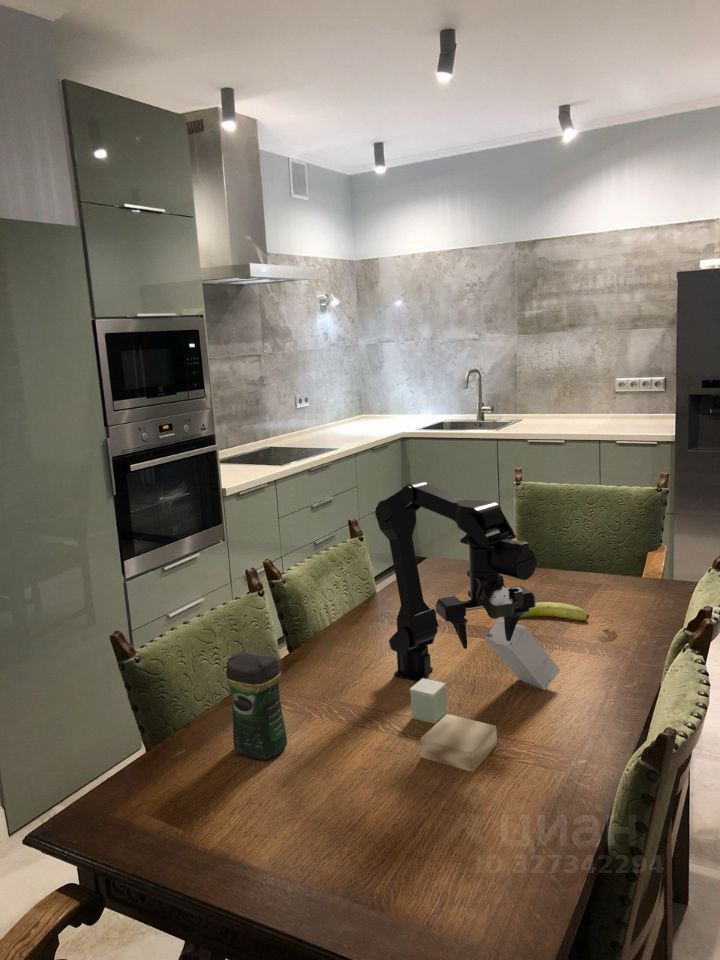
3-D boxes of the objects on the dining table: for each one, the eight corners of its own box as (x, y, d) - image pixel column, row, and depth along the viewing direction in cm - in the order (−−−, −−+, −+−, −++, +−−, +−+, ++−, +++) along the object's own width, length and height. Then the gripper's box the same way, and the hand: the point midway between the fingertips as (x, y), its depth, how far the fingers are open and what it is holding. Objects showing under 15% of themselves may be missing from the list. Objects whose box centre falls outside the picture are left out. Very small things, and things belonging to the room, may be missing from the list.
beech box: (421, 759, 138) (420, 738, 137) (447, 733, 146) (446, 713, 145) (472, 773, 132) (471, 752, 132) (496, 746, 141) (496, 726, 140)
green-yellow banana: (627, 606, 203) (627, 592, 202) (619, 648, 179) (619, 632, 178) (495, 596, 217) (495, 583, 216) (470, 634, 192) (470, 619, 191)
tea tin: (411, 718, 152) (409, 689, 151) (424, 706, 156) (422, 678, 155) (434, 724, 149) (433, 694, 148) (447, 712, 153) (445, 683, 152)
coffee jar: (294, 744, 145) (286, 651, 142) (268, 765, 139) (259, 668, 135) (253, 733, 150) (245, 643, 147) (227, 753, 144) (217, 659, 140)
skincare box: (561, 670, 160) (529, 626, 153) (544, 693, 159) (511, 650, 152) (531, 657, 167) (499, 614, 160) (515, 679, 165) (482, 637, 158)
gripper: (455, 588, 139) (458, 669, 142) (549, 573, 144) (550, 652, 147) (433, 570, 149) (436, 646, 152) (521, 557, 154) (522, 631, 157)
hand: (486, 644), depth 152 cm, fingers open, 9 cm apart
